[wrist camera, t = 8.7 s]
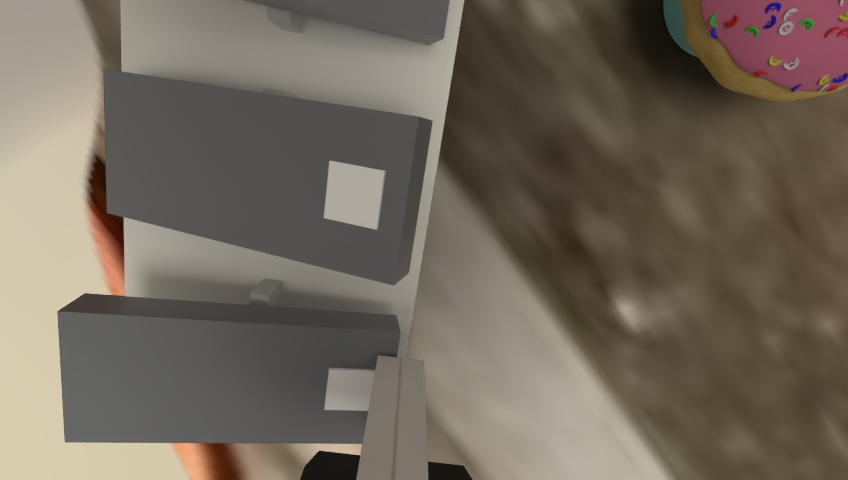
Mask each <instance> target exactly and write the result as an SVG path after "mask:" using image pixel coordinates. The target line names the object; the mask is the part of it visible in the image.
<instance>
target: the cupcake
mask: <svg viewBox="0 0 848 480" xmlns="http://www.w3.org/2000/svg"><path fill="white" fill-rule="evenodd" d="M663 10H664V18H665V23H666V26H667V29H668V31H669V33H670V35H671V37H672V38H673V40H674V41H675V42H676V43H677V45H678V46H679V47H680V48H682V49H683V50H684V51H686V52H687V53H689V54H691V55H693V56H695V57H698V58H699V59H700V61H701V62H702V63H703V64H704V65H705V67H706V68H707V69H708V71H709V72H710V73H711V75H712V76H713V77H714V78H715V80H716V81H717V82H718V83H719V84H720V85H722V86H723V87H725V88H727V89H729V90H731V91H734V92H738V93H743V94H748V95H751V96H755V97H758V98H761V99H765V100H769V101H776V102H784V101H793V100H800V99H807V98H812V97H817V96H822V95H825V94H829V93H832V92H835V91H838V90H841V89H843V88H846V87H848V0H664V2H663Z"/></svg>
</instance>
